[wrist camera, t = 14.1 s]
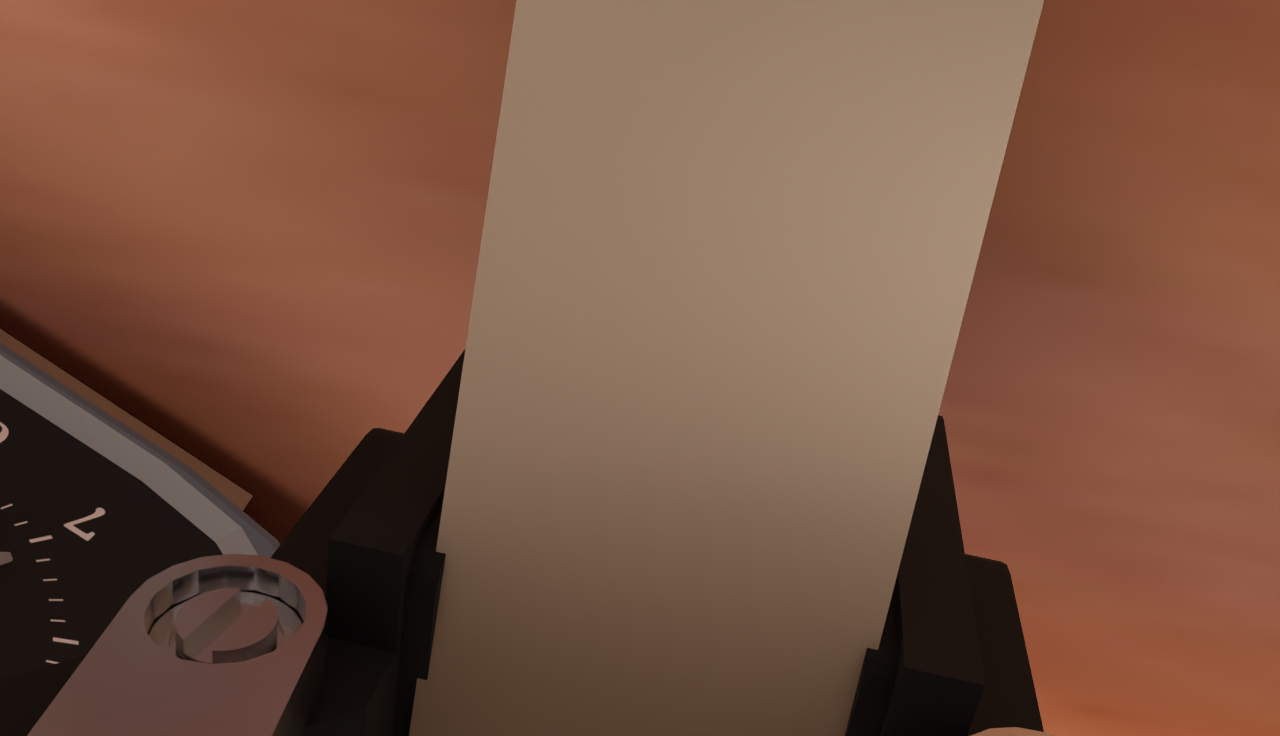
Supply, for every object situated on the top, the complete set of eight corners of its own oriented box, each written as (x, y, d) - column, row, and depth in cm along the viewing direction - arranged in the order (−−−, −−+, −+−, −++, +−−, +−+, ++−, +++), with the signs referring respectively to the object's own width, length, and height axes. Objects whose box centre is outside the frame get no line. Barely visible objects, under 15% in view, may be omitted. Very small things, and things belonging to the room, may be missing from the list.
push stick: (656, -126, 12) (556, -274, 7) (964, -72, 11) (1091, -185, 6) (479, 907, 15) (322, 1318, 10) (719, 967, 14) (681, 1415, 10)
